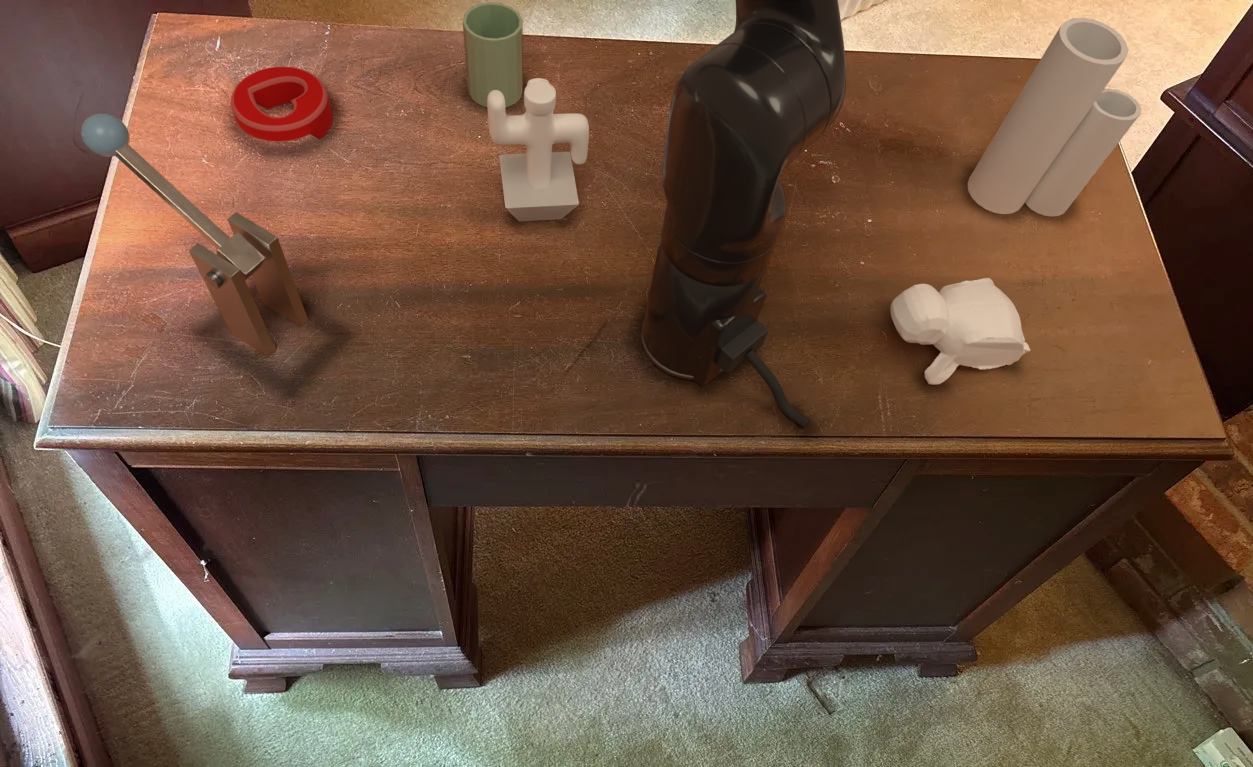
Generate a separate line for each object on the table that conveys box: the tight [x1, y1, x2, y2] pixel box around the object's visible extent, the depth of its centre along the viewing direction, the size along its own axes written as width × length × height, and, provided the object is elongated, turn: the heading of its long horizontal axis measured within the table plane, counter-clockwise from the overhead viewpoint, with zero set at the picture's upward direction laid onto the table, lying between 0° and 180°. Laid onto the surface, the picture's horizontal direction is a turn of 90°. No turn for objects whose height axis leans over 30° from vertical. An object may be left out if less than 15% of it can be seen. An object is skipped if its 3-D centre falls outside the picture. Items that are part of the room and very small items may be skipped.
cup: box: [462, 1, 524, 109], centre depth 95 cm, size 6×6×9 cm
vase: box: [966, 17, 1142, 217], centre depth 90 cm, size 11×7×20 cm, turn 93°
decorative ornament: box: [230, 66, 334, 142], centre depth 92 cm, size 10×10×3 cm
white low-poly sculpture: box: [889, 277, 1031, 386], centre depth 83 cm, size 9×8×15 cm
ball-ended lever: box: [80, 112, 265, 281], centre depth 69 cm, size 16×3×3 cm, turn 57°
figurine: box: [486, 77, 590, 222], centre depth 84 cm, size 7×9×15 cm
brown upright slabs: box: [188, 211, 309, 358], centre depth 74 cm, size 10×7×13 cm
